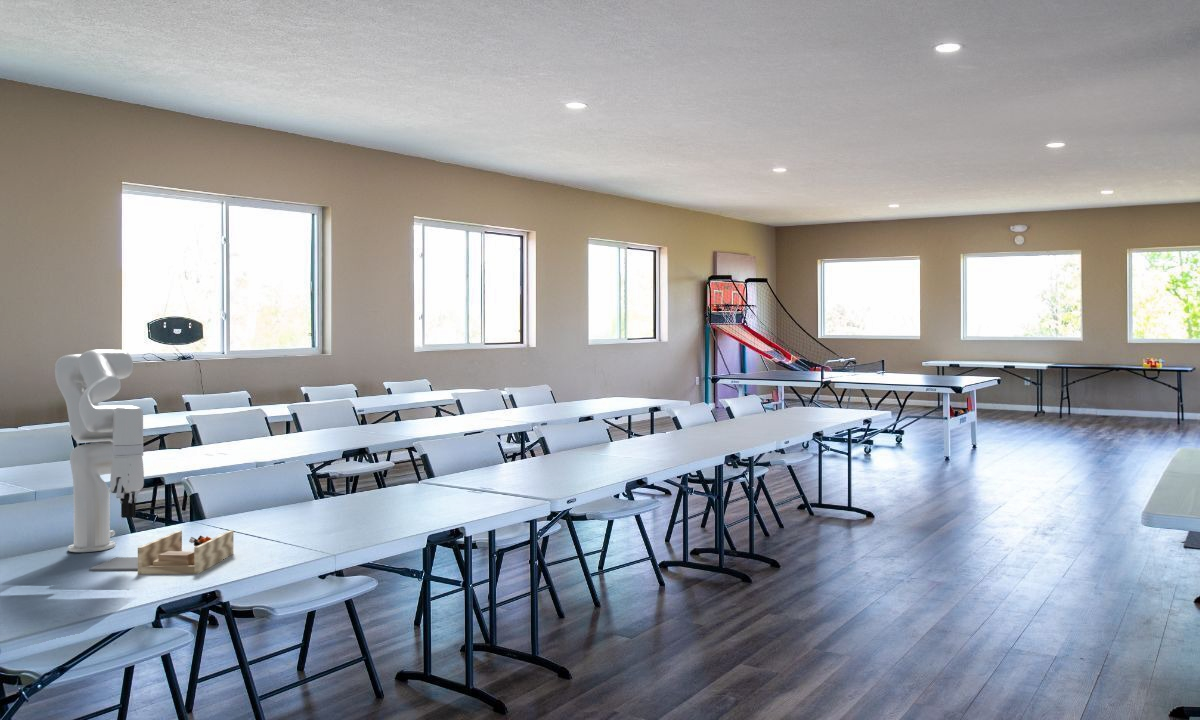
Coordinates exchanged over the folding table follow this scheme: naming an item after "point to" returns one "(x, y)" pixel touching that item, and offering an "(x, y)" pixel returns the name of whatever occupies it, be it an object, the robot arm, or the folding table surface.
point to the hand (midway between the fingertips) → (128, 517)
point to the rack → (203, 553)
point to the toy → (199, 540)
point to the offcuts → (175, 558)
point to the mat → (118, 564)
